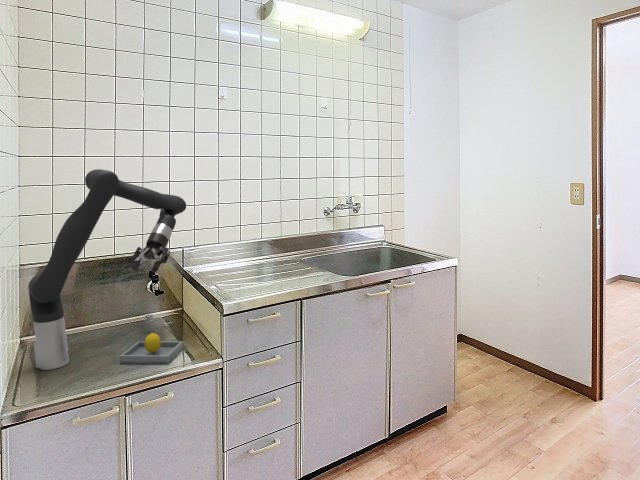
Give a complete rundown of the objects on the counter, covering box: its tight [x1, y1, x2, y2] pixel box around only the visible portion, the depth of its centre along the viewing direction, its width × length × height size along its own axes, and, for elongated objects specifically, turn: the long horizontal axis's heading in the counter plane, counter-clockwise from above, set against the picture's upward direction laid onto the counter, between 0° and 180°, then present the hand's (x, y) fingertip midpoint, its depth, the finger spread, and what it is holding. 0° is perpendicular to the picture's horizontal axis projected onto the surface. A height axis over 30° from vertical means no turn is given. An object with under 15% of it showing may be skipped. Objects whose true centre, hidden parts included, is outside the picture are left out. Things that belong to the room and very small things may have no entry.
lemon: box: [144, 332, 162, 354], centre depth 157 cm, size 6×6×8 cm
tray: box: [118, 340, 185, 366], centre depth 158 cm, size 18×14×3 cm
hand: (143, 270), depth 163 cm, fingers open, 8 cm apart
